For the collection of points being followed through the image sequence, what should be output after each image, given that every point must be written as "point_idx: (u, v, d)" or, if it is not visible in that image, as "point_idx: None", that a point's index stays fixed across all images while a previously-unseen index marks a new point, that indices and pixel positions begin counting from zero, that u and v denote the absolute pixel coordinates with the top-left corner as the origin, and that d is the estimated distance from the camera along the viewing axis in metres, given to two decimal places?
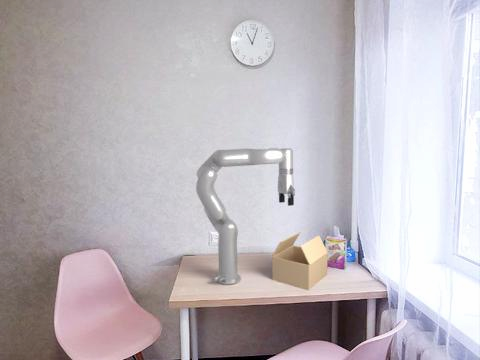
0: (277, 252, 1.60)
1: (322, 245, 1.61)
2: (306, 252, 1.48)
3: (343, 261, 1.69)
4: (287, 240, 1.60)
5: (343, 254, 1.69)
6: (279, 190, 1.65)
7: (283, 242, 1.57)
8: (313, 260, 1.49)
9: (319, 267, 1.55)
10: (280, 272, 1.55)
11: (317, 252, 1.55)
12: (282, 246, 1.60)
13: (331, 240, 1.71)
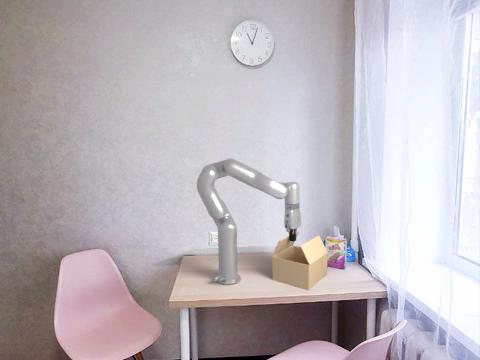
0: (277, 252, 1.60)
1: (322, 245, 1.61)
2: (306, 252, 1.48)
3: (343, 261, 1.69)
4: (286, 239, 1.61)
5: (343, 254, 1.69)
6: (295, 226, 1.58)
7: (282, 241, 1.58)
8: (313, 260, 1.49)
9: (319, 267, 1.55)
10: (280, 272, 1.55)
11: (317, 252, 1.55)
12: (281, 246, 1.60)
13: (331, 240, 1.71)
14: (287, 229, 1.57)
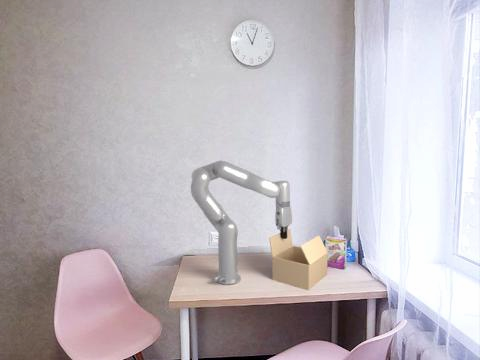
0: (275, 251, 1.60)
1: (322, 245, 1.61)
2: (306, 252, 1.48)
3: (343, 261, 1.69)
4: (278, 236, 1.64)
5: (343, 254, 1.69)
6: (286, 224, 1.61)
7: (274, 238, 1.60)
8: (313, 260, 1.49)
9: (319, 267, 1.55)
10: (280, 272, 1.55)
11: (317, 252, 1.55)
12: (277, 244, 1.62)
13: (331, 240, 1.71)
14: (278, 227, 1.61)
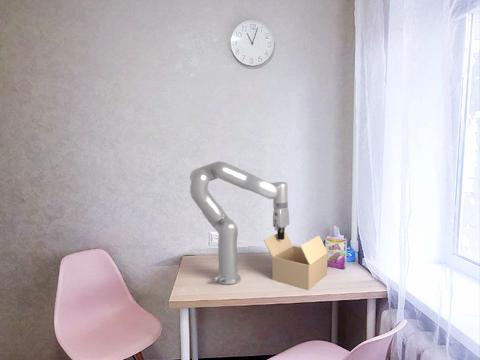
0: (274, 251, 1.61)
1: (322, 245, 1.61)
2: (306, 252, 1.48)
3: (343, 261, 1.69)
4: (273, 238, 1.66)
5: (343, 254, 1.69)
6: (283, 225, 1.62)
7: (269, 240, 1.63)
8: (313, 260, 1.49)
9: (319, 267, 1.55)
10: (280, 272, 1.55)
11: (317, 252, 1.55)
12: (274, 244, 1.63)
13: (331, 240, 1.71)
14: (275, 228, 1.61)
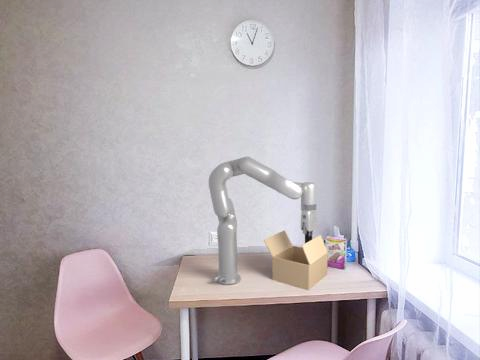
0: (274, 251, 1.61)
1: (323, 245, 1.61)
2: (307, 251, 1.47)
3: (343, 261, 1.69)
4: (273, 238, 1.66)
5: (343, 254, 1.69)
6: (312, 228, 1.52)
7: (269, 240, 1.63)
8: (313, 260, 1.49)
9: (319, 267, 1.55)
10: (280, 272, 1.55)
11: (317, 252, 1.54)
12: (274, 244, 1.63)
13: (331, 240, 1.71)
14: (304, 231, 1.51)
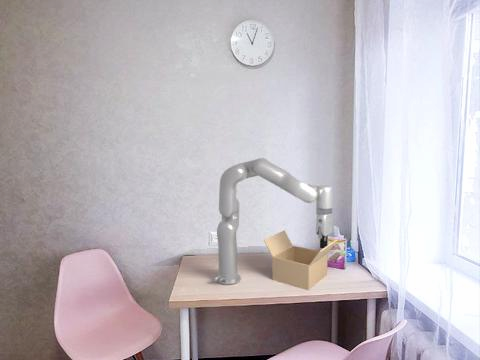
0: (274, 251, 1.61)
1: (330, 248, 1.58)
2: (318, 256, 1.44)
3: (343, 261, 1.69)
4: (273, 238, 1.66)
5: (343, 254, 1.69)
6: (328, 232, 1.47)
7: (269, 240, 1.63)
8: (314, 261, 1.48)
9: (319, 267, 1.55)
10: (280, 272, 1.55)
11: (323, 254, 1.53)
12: (274, 244, 1.63)
13: (331, 240, 1.71)
14: (319, 236, 1.47)
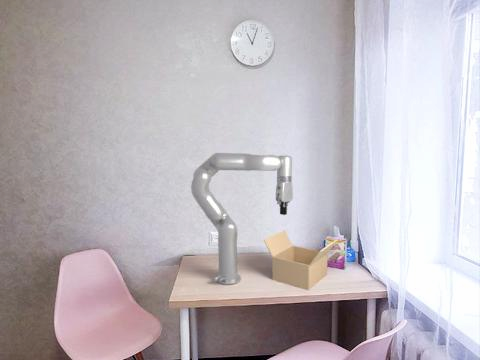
0: (274, 251, 1.61)
1: (330, 248, 1.58)
2: (318, 256, 1.44)
3: (343, 261, 1.69)
4: (273, 238, 1.66)
5: (343, 254, 1.69)
6: (286, 199, 1.58)
7: (269, 240, 1.63)
8: (314, 261, 1.48)
9: (319, 267, 1.55)
10: (280, 272, 1.55)
11: (323, 254, 1.53)
12: (274, 244, 1.63)
13: (331, 240, 1.71)
14: (278, 201, 1.58)
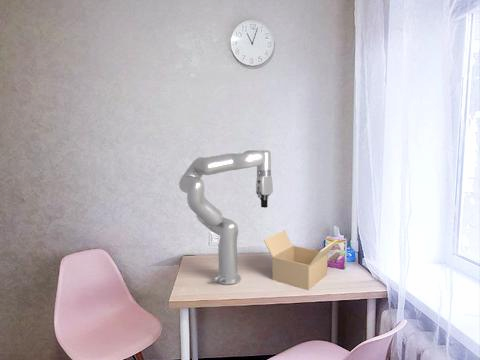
0: (274, 251, 1.61)
1: (330, 248, 1.58)
2: (318, 256, 1.44)
3: (343, 261, 1.69)
4: (273, 238, 1.66)
5: (343, 254, 1.69)
6: (266, 192, 1.64)
7: (269, 240, 1.63)
8: (314, 261, 1.48)
9: (319, 267, 1.55)
10: (280, 272, 1.55)
11: (323, 254, 1.53)
12: (274, 244, 1.63)
13: (331, 240, 1.71)
14: (258, 195, 1.63)
